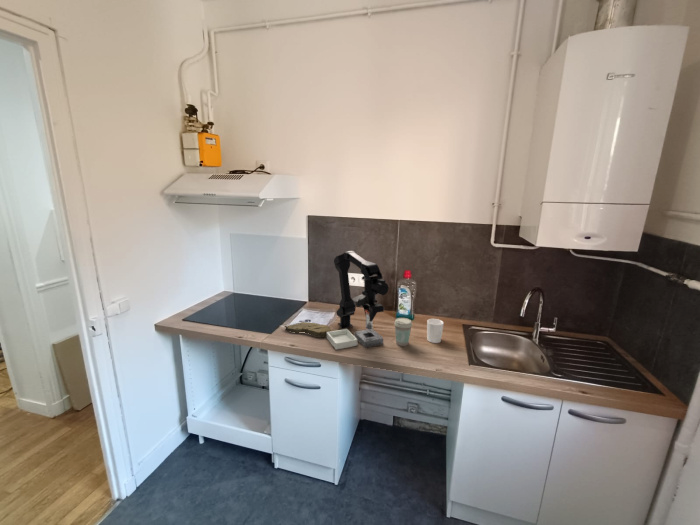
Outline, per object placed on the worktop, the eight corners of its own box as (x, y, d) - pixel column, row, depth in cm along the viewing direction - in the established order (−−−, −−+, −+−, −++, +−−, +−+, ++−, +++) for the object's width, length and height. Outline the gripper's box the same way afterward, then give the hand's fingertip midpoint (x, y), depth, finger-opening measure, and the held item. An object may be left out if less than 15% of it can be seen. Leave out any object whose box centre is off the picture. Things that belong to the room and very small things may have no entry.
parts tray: (326, 337, 156) (326, 332, 156) (346, 334, 161) (346, 328, 160) (335, 349, 144) (335, 343, 144) (357, 345, 149) (357, 339, 148)
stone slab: (336, 328, 166) (335, 320, 164) (329, 342, 155) (328, 333, 153) (291, 324, 173) (289, 317, 171) (281, 337, 162) (280, 329, 161)
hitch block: (354, 337, 157) (354, 331, 157) (371, 333, 161) (372, 328, 161) (364, 347, 147) (365, 341, 146) (383, 343, 151) (383, 338, 150)
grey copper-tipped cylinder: (363, 326, 153) (363, 309, 152) (371, 325, 155) (371, 308, 153) (367, 330, 150) (367, 312, 148) (375, 328, 151) (375, 311, 149)
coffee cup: (390, 340, 154) (391, 318, 151) (405, 338, 157) (406, 316, 154) (398, 348, 146) (400, 325, 143) (414, 346, 149) (415, 322, 146)
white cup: (431, 344, 150) (432, 325, 148) (423, 337, 158) (424, 319, 156) (445, 342, 153) (446, 324, 150) (436, 335, 160) (438, 318, 158)
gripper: (347, 286, 153) (346, 315, 157) (363, 297, 137) (362, 329, 140) (367, 283, 158) (366, 312, 161) (385, 294, 141) (384, 326, 144)
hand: (369, 319), depth 151 cm, fingers closed on grey copper-tipped cylinder, 4 cm apart
